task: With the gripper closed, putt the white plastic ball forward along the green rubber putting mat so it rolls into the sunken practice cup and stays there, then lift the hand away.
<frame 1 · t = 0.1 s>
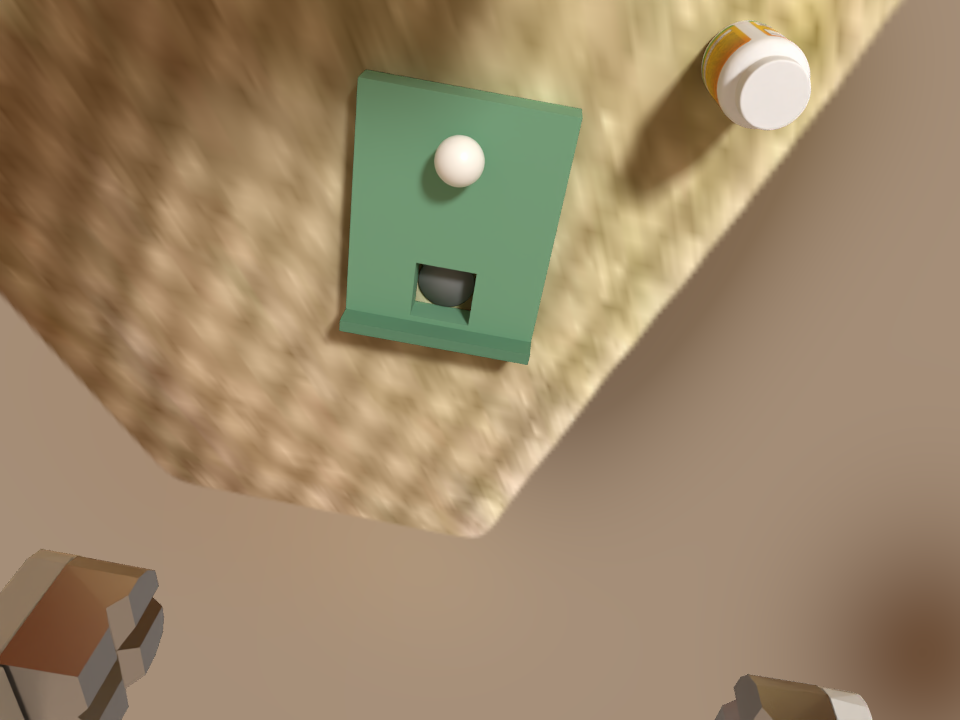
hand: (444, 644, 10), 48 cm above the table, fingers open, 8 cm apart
supplement bottle: (739, 61, 49), on the table
ball: (459, 161, 50), point 4 cm above the table, touching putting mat
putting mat: (455, 216, 57), on the table
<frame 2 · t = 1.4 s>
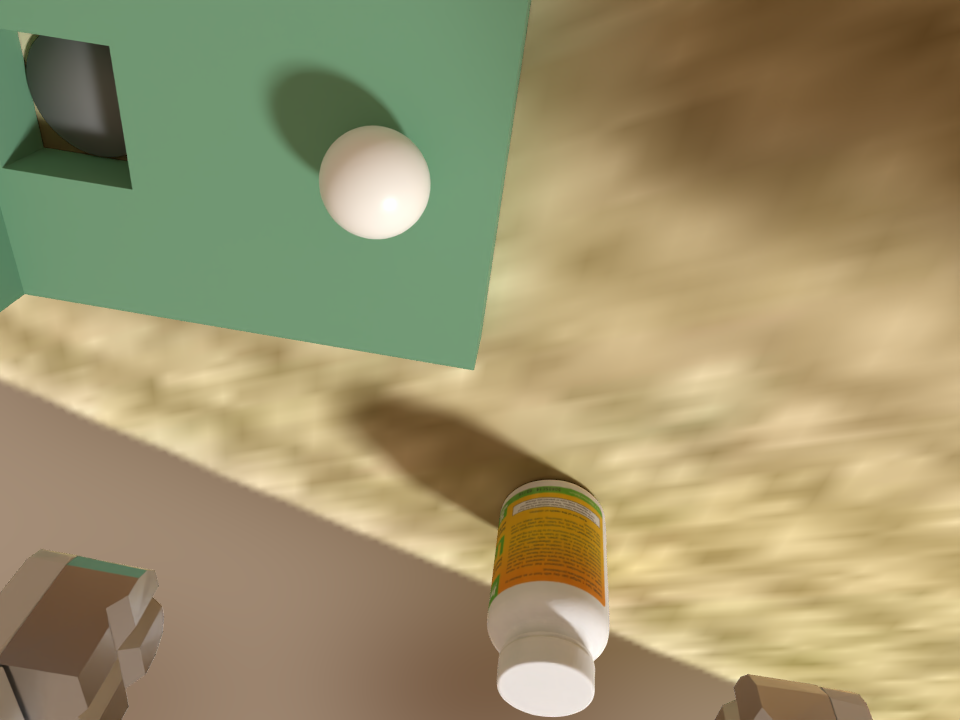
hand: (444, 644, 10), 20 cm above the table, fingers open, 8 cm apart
supplement bottle: (552, 511, 37), on the table
ball: (375, 183, 23), point 4 cm above the table, touching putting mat
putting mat: (246, 118, 27), on the table
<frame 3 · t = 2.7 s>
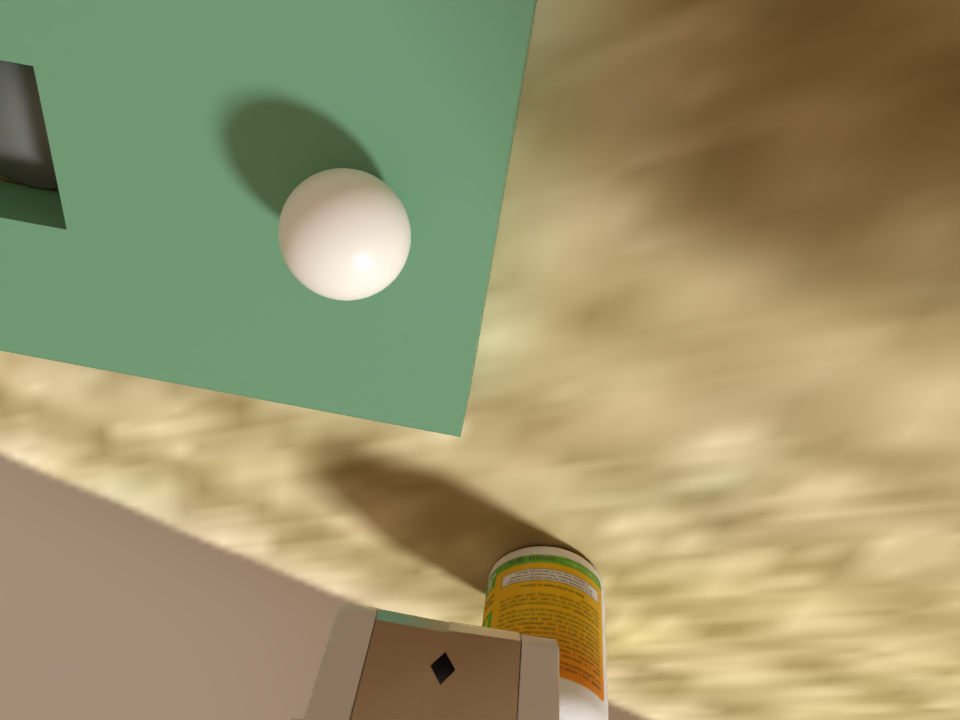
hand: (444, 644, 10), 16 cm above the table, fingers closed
supplement bottle: (545, 578, 33), on the table
ball: (345, 235, 20), point 4 cm above the table, touching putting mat
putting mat: (201, 148, 23), on the table
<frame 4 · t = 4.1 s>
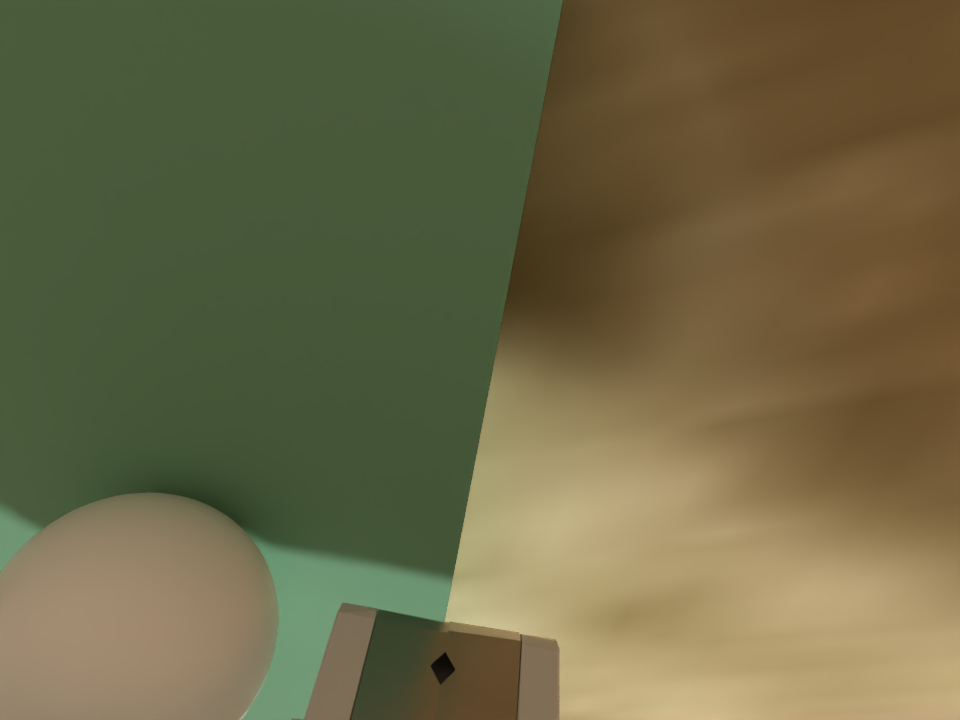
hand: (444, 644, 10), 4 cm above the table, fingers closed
ball: (137, 631, 9), point 4 cm above the table, touching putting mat
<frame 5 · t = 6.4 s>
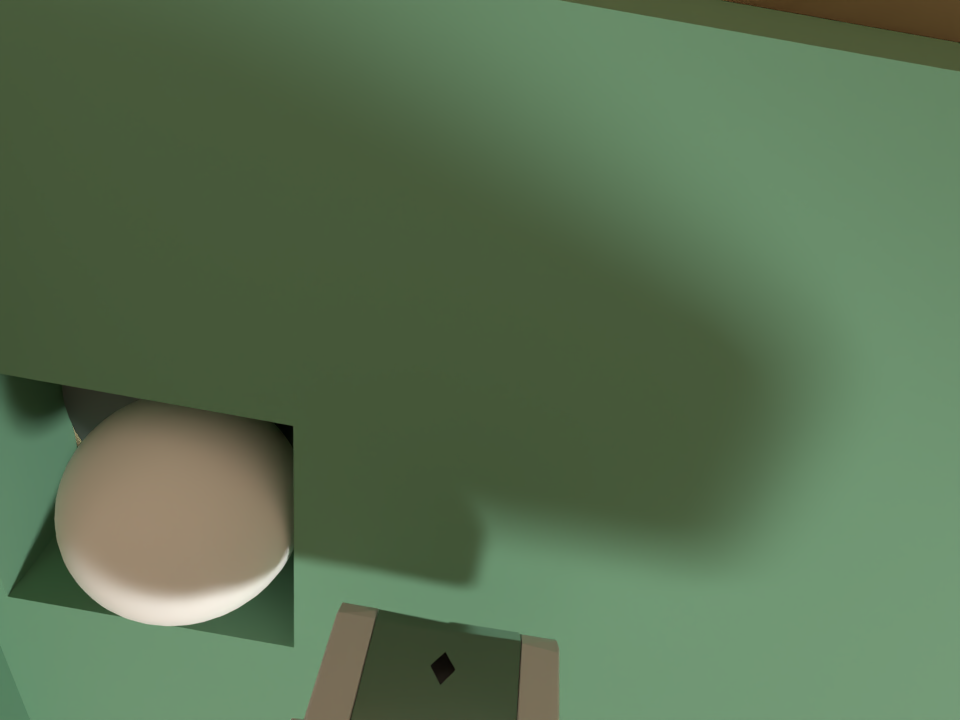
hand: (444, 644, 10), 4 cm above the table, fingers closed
ball: (187, 504, 11), point 2 cm above the table, tilted 21°, touching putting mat
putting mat: (527, 477, 13), on the table
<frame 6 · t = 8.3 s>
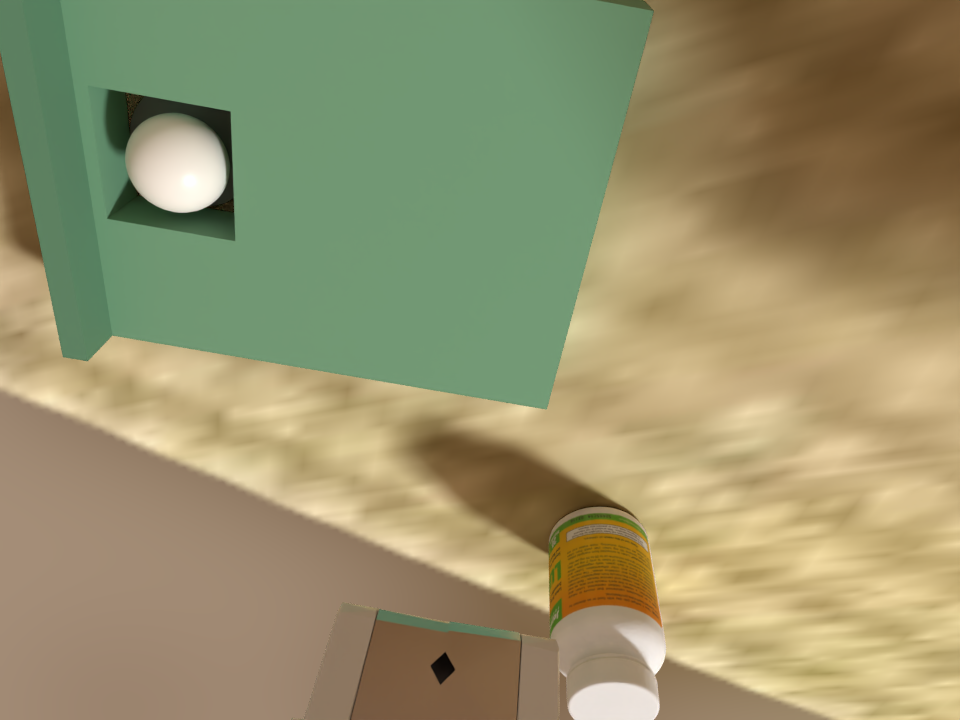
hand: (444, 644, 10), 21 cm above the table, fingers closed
supplement bottle: (597, 535, 39), on the table
ball: (178, 163, 27), point 2 cm above the table, tilted 33°, touching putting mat
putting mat: (342, 174, 28), on the table
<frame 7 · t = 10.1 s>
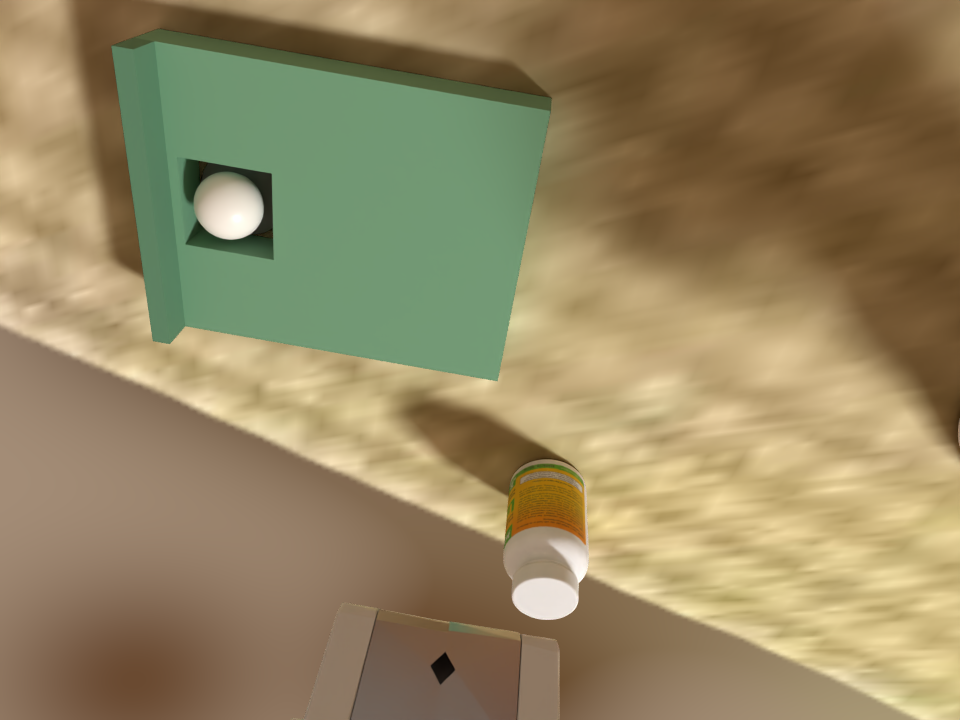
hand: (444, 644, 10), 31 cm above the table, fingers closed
supplement bottle: (547, 483, 50), on the table
ball: (229, 205, 38), point 2 cm above the table, tilted 44°, touching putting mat
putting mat: (348, 211, 40), on the table
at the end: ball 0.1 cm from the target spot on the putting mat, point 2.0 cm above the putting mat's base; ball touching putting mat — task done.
